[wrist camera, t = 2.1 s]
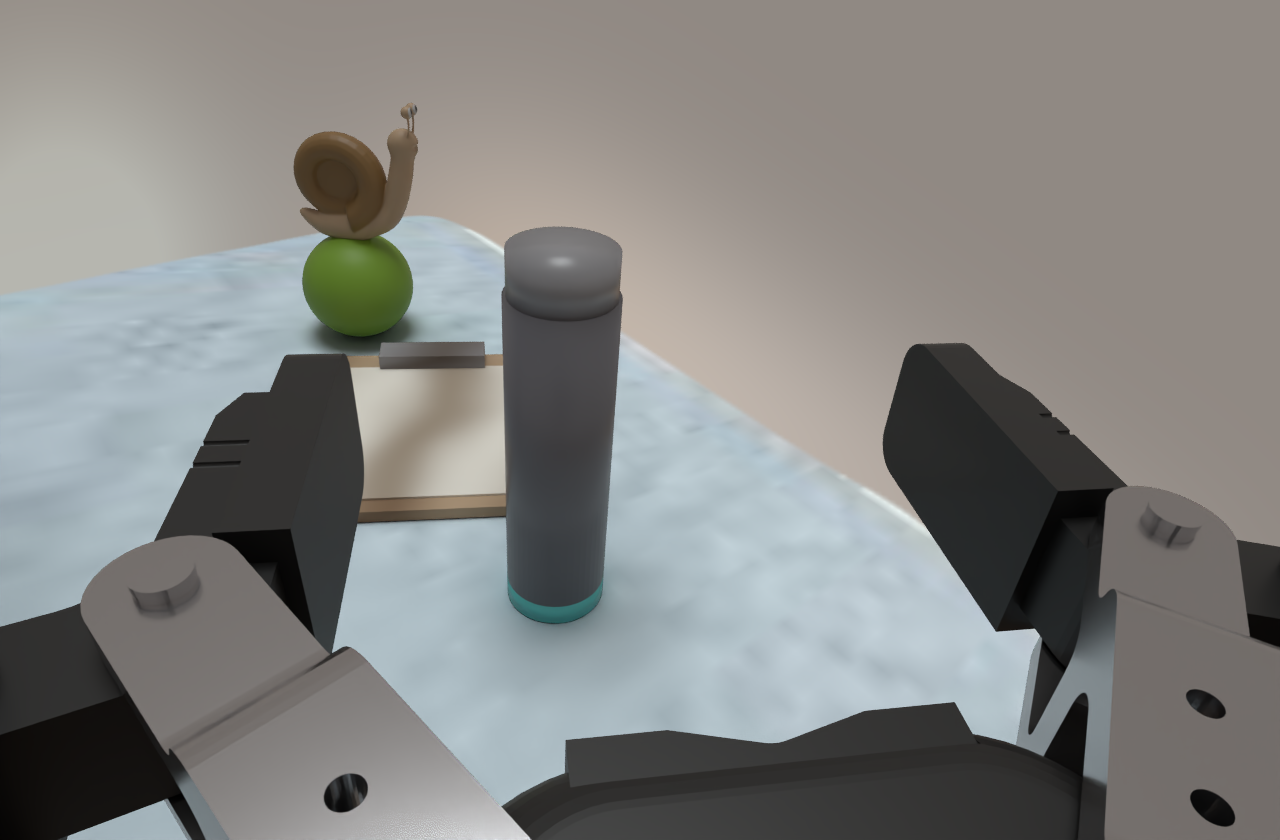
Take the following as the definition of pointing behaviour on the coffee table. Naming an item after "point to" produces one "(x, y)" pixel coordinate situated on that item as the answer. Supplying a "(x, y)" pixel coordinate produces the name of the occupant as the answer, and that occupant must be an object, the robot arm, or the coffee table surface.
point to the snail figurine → (356, 229)
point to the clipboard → (431, 431)
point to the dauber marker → (559, 415)
